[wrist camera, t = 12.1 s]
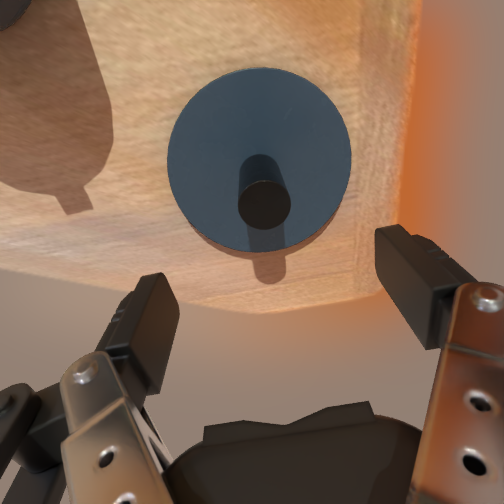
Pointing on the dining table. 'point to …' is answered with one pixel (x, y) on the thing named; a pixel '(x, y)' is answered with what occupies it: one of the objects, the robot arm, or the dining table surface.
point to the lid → (259, 159)
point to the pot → (11, 11)
